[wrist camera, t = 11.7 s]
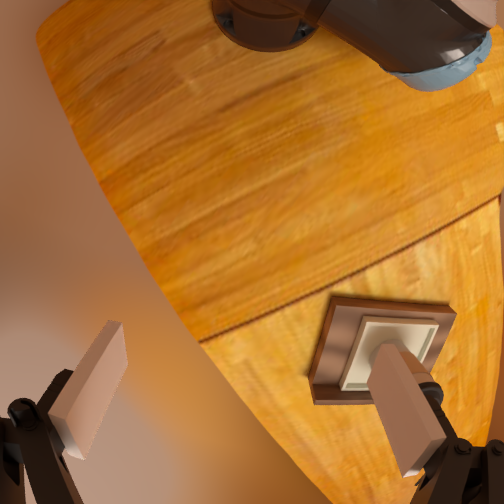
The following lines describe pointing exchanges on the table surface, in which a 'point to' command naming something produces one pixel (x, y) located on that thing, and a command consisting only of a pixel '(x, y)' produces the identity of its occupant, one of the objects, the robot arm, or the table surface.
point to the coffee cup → (413, 369)
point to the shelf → (343, 337)
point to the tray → (377, 331)
